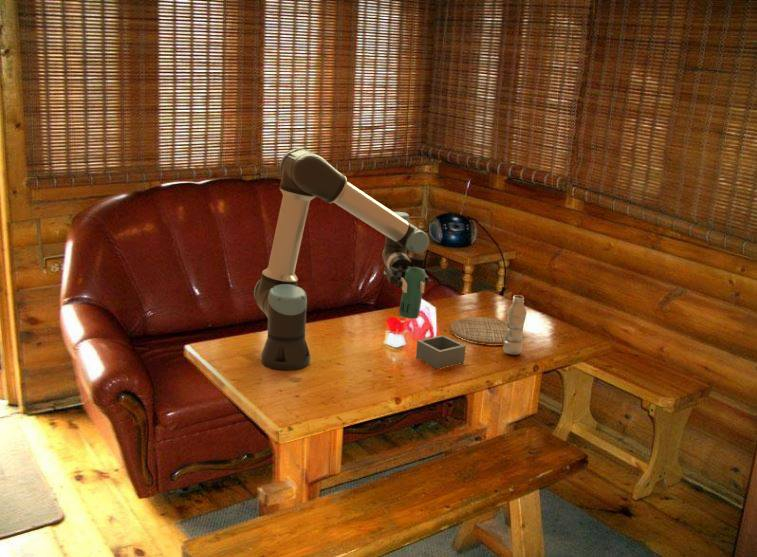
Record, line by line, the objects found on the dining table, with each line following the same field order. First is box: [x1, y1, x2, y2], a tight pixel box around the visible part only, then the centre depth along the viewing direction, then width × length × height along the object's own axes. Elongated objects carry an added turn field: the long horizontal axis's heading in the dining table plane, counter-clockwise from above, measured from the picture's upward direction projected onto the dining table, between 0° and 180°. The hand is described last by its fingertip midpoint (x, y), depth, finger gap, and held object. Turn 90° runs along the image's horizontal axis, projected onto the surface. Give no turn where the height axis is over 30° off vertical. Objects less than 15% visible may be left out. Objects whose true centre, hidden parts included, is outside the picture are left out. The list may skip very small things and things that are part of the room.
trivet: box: [450, 316, 507, 344], centre depth 292 cm, size 25×25×2 cm
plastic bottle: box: [502, 294, 527, 356], centre depth 271 cm, size 6×7×20 cm
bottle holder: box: [415, 334, 466, 370], centre depth 263 cm, size 11×11×6 cm
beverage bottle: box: [398, 256, 427, 320], centre depth 250 cm, size 6×7×20 cm
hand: (414, 288), depth 244 cm, fingers closed on beverage bottle, 5 cm apart
